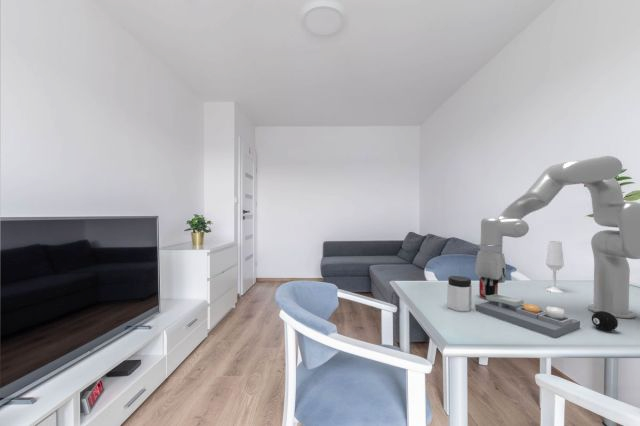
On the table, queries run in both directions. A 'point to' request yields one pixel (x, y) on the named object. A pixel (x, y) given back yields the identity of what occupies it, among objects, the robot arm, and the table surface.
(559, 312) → the button
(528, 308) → the button
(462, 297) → the jar
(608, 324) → the billiard ball
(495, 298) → the plate
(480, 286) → the soda can
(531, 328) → the panel
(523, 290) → the table surface
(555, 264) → the champagne flute
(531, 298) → the table surface
